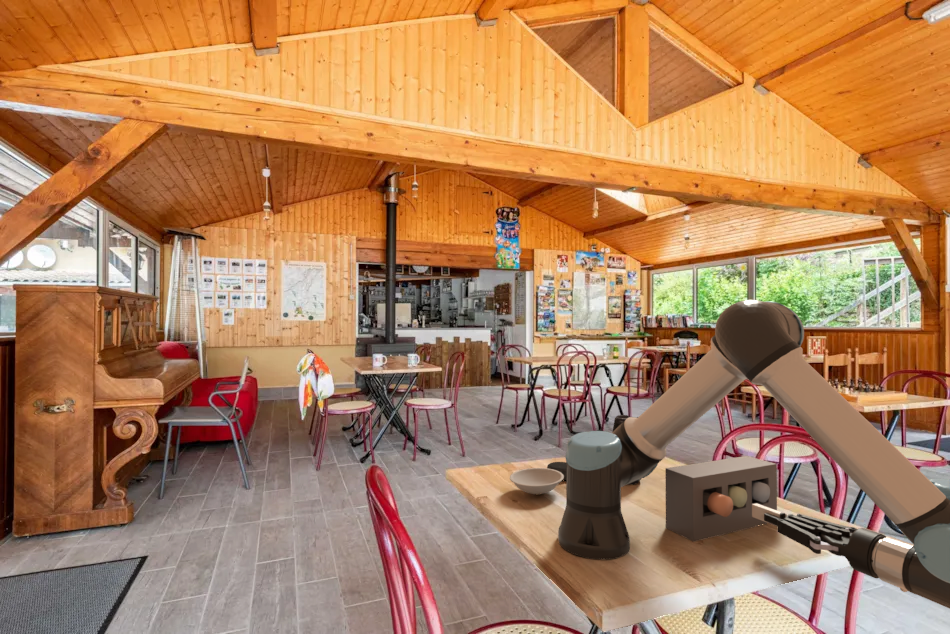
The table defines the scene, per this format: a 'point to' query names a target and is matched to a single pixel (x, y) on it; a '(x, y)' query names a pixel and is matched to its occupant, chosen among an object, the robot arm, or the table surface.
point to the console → (696, 479)
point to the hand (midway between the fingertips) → (754, 510)
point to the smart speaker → (558, 467)
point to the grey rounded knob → (759, 491)
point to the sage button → (737, 495)
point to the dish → (536, 480)
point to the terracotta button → (718, 503)
